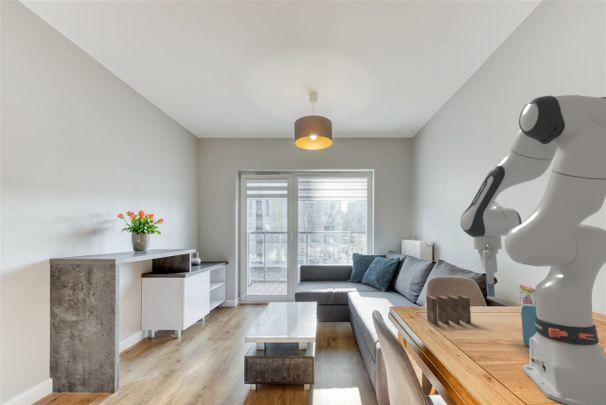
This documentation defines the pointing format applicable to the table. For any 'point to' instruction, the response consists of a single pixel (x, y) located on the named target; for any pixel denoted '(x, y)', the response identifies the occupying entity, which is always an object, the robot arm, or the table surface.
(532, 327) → the data package
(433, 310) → the domino
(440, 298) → the domino
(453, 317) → the domino
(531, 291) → the candy bar box
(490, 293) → the domino
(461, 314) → the domino
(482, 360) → the table surface
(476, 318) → the table surface
